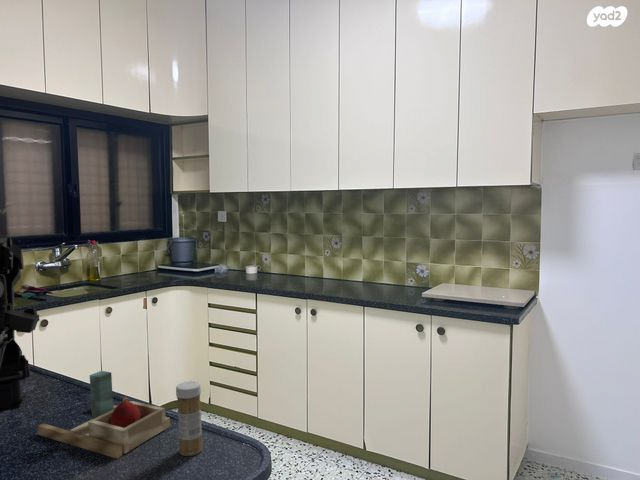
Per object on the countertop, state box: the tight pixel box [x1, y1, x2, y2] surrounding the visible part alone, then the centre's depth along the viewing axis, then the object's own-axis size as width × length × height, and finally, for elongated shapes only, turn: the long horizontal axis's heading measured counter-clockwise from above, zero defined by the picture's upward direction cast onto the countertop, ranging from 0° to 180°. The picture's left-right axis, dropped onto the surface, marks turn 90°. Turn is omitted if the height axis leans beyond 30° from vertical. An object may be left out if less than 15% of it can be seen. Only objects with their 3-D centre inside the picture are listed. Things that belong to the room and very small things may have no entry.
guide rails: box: [37, 401, 171, 460], centre depth 101 cm, size 24×14×2 cm, turn 65°
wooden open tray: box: [69, 370, 167, 454], centre depth 99 cm, size 16×11×12 cm, turn 65°
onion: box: [110, 397, 141, 428], centre depth 98 cm, size 6×6×8 cm
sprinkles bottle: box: [175, 380, 204, 457], centre depth 91 cm, size 5×5×13 cm
